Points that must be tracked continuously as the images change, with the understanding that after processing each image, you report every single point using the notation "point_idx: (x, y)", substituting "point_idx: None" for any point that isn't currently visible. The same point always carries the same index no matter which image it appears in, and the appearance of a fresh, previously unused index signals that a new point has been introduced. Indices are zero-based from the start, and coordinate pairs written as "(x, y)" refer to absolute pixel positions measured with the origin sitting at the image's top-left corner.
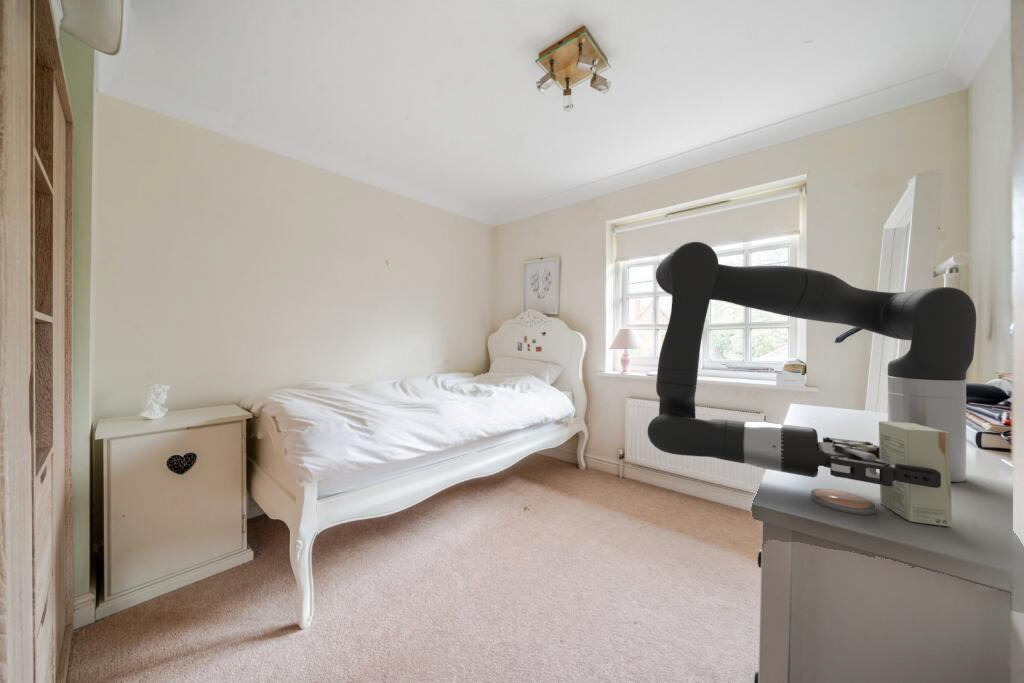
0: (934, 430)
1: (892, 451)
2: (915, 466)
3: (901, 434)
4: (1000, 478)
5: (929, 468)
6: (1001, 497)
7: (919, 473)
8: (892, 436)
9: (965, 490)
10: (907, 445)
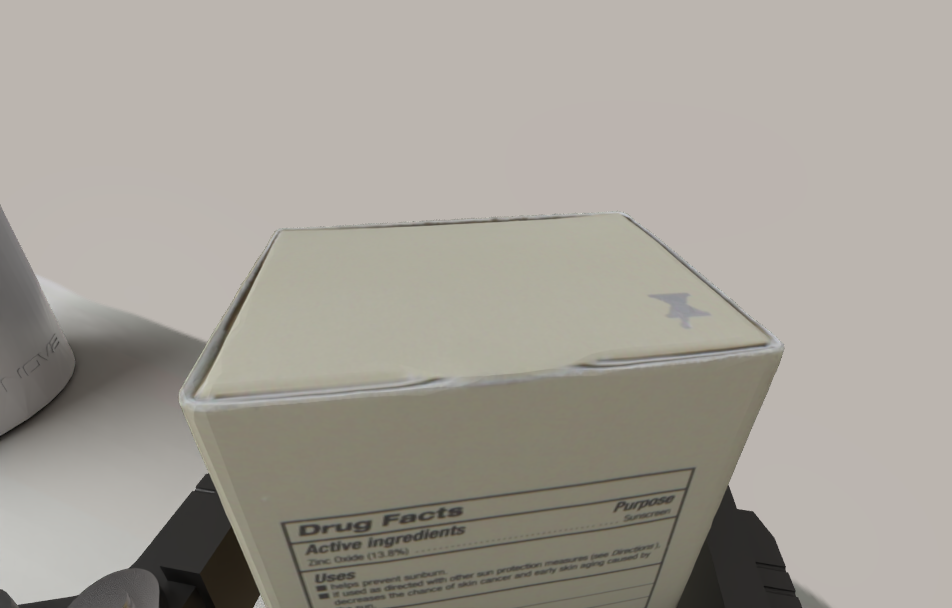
0: (632, 235)
1: (508, 588)
2: (726, 563)
3: (673, 421)
4: (59, 286)
5: None
6: (203, 343)
7: (790, 588)
8: (520, 484)
9: (144, 382)
10: (725, 480)
